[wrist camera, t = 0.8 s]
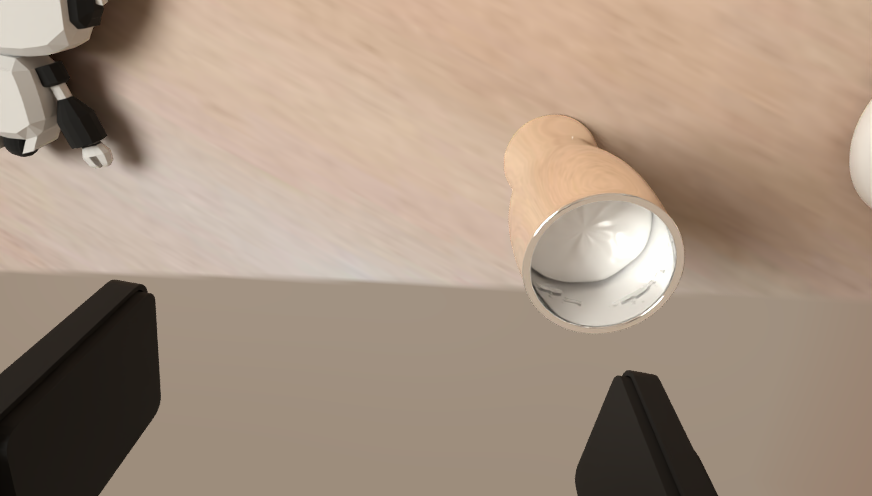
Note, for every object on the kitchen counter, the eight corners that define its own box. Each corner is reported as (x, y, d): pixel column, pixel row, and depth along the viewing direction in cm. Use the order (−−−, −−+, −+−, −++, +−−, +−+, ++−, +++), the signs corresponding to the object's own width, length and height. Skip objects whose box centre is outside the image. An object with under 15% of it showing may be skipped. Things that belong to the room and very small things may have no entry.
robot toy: (143, 159, 38) (125, -88, 31) (105, 186, 34) (74, -91, 27) (-37, 121, 38) (-101, -141, 30) (-97, 144, 34) (-187, -151, 26)
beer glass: (594, 212, 37) (668, 343, 24) (492, 206, 38) (508, 333, 24) (613, 109, 34) (711, 193, 21) (502, 103, 34) (527, 182, 21)
